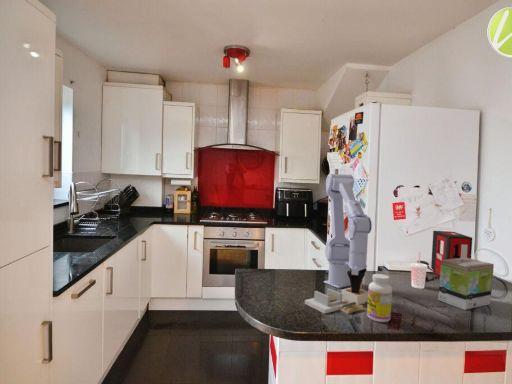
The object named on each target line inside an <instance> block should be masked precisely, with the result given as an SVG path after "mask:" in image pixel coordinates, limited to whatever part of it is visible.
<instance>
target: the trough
mask: <svg viewBox="0 0 512 384" xmlns="http://www.w3.org/2000/svg"><path fill="white" fill-rule="evenodd" d="M363 305H364V304H361V305H359V304H356V302H352V303H348V304H344V305H341V306H340V310H339V311H341V312H343V313H345V314H347V315H348V314H351V313H355V312H358V311H362V310H363V308H364V307H363Z"/></svg>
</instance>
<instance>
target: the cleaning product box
mask: <svg viewBox="0 0 512 384" xmlns="http://www.w3.org/2000/svg"><path fill="white" fill-rule="evenodd" d="M472 247H473V237H471V236H469V235H464V234H462V233H458V232H455V231H446V230H445V231H444V230H433V231H432V247H431V264H430V269H431V268H432V269H433V270H434V273H435V274H436V275H437V276H438V277H439V278H438V277H437V276H436V277H437V278H438V279H440V272H441V261H442V260H448V259H458V258H469V259H472V251H473V249H472Z"/></svg>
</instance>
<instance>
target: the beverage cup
mask: <svg viewBox="0 0 512 384" xmlns="http://www.w3.org/2000/svg"><path fill="white" fill-rule="evenodd" d="M410 268H411V271H410V272H411V274H410V275H411V277H410V280H411V287H412V288H415V289H425V284H426V275H427V269H428V264H425V263H422V262H421V251H419V252H418V262H410Z"/></svg>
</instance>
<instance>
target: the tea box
mask: <svg viewBox="0 0 512 384" xmlns="http://www.w3.org/2000/svg"><path fill="white" fill-rule="evenodd" d="M494 268H495V267H494V263H490V262H487V261H486V262H485V261H481V260H478V259H473V258H471V259H469V258H458V259H448V260H442V261H441V272H440V278H439V282H438V283H439V284H438V285H439V286H438V295H437V299H438V301H440V302H443V303H444V304H448V305H450V306H452V307H453V306H454V307H455V308H457V309H458V308H459V309H461V310H464V311H466V310H471V309H473V308H478V307H484V306H488V305H490V304H491V300H492V290H493V280H494V279H493V278H494Z"/></svg>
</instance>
